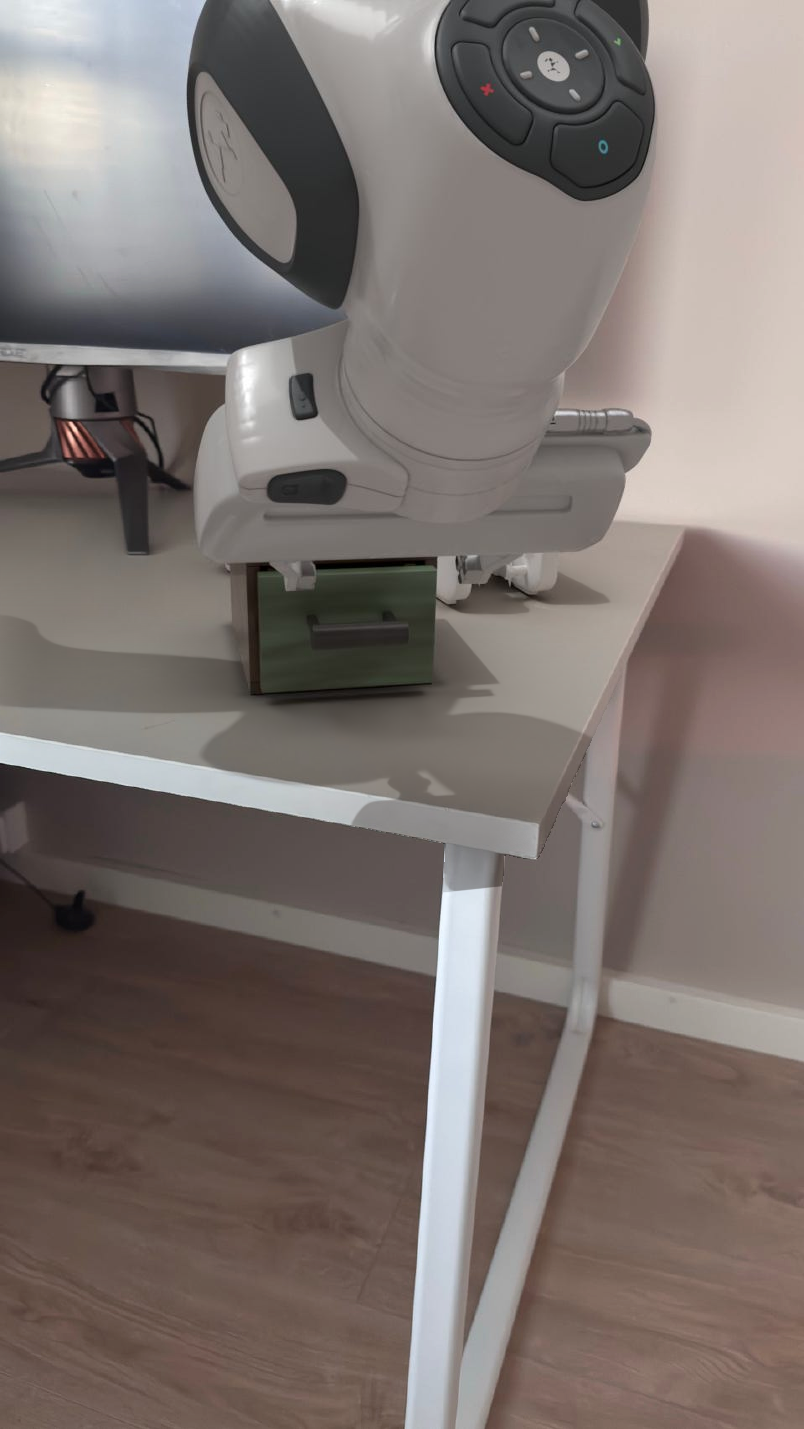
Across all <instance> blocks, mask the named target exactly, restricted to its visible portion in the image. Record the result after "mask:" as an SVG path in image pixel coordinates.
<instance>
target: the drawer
mask: <svg viewBox="0 0 804 1429" xmlns="http://www.w3.org/2000/svg"><path fill="white" fill-rule="evenodd" d="M314 565H315V568H316V582H315V583H314V590H302V591H286V589H285V582H284V576H283V575H282V574H281V573H280V572H278V571H277V570H276V569H275V568H274V567H272V566H259V567H260V572H257V588H258V622H259V656H260V686H261V690H262V693H266V694H271V693H270V692H282V693H287V692H286V691H298V692H303V691H302V690H314V691H319V690H318V689H330V690H335V689H334V688H346V689H351V688H350V687H362V688H367V687H366V686H379V687H384V686H383V685H395V686H400V685H399V684H411V685H416V684H415V683H427V684H432V683H431V682H433V683H434V664H435V639H436V638H435V636H436V633H435V632H436V616H437V615H436V613H437V597H436V590H437V570H436V568H435V567H434V566H432V565H430V566H416V564H415V563H414V561H389V562H361V563H334V564H314Z"/></svg>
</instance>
